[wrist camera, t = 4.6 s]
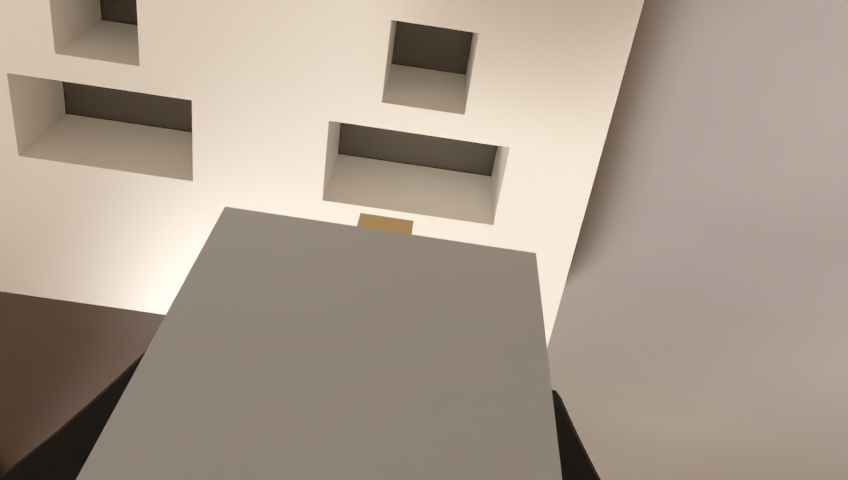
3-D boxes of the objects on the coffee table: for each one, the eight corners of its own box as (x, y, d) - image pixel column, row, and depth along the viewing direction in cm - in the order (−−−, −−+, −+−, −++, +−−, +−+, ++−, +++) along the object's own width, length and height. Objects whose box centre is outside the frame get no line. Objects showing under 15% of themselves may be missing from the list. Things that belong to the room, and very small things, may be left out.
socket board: (535, 310, 23) (543, 380, 20) (8, 235, 23) (-52, 297, 20) (655, -150, 17) (688, -132, 14) (-71, -266, 16) (-173, -269, 14)
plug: (470, 430, 16) (466, 839, 10) (249, 398, 16) (111, 792, 10) (527, 186, 13) (571, 558, 7) (257, 145, 13) (71, 488, 7)
